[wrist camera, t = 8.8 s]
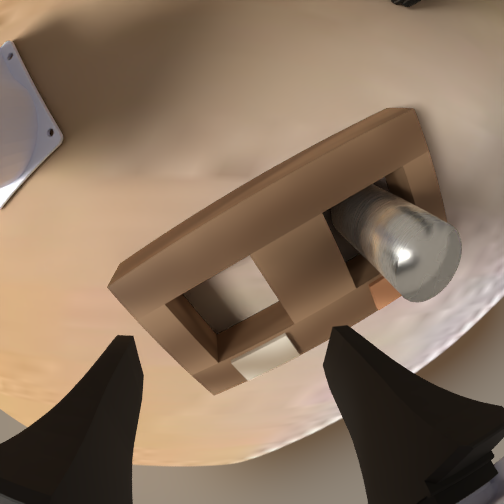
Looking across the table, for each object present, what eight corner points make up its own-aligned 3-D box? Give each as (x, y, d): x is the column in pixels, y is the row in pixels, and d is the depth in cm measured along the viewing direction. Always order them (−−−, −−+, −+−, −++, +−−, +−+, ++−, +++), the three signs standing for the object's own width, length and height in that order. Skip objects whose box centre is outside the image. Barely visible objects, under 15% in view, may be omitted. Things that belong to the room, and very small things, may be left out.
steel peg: (325, 189, 18) (394, 237, 11) (379, 174, 18) (462, 212, 11) (336, 245, 20) (396, 314, 13) (386, 229, 20) (458, 284, 13)
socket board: (119, 263, 18) (105, 289, 15) (387, 108, 16) (417, 108, 13) (212, 367, 23) (214, 398, 20) (430, 241, 21) (455, 259, 18)
